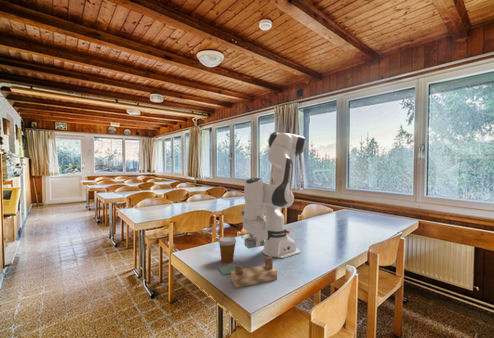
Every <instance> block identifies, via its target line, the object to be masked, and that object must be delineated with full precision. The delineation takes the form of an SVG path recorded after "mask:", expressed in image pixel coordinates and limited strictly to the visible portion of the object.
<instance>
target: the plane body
mask: <svg viewBox="0 0 494 338" xmlns="http://www.w3.org/2000/svg"><path fill="white" fill-rule="evenodd" d="M273 263H274V260H273V257H271V256H265V257H264V265H259V266H253V267H247V268H243V265H236V266H235V271H231V274H230V278H229V282H230V283H231V285H232V286H233V287H234V288H235V289H236V288H240V287H241V288H242V287H247V286H251V285H255V284H256V285H257V284H259V283H265V282H270V281H274V280H278V270H277V269H276V268H275V267H274V266H273Z"/></svg>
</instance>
